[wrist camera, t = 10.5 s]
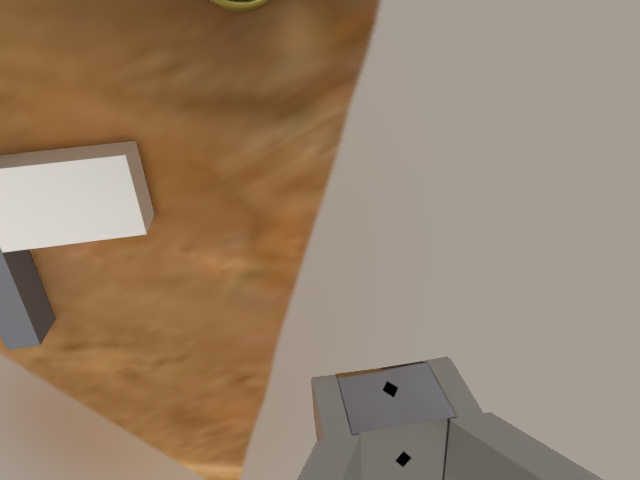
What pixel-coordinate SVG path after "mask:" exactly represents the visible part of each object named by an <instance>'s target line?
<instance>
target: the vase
mask: <svg viewBox="0 0 640 480" xmlns="http://www.w3.org/2000/svg"><path fill="white" fill-rule="evenodd" d="M208 1H209V2H211V3H212V4H214V5H215V6H217V7H219V8H221V9H223V10H226V11H229V12H235V13H243V12H249V11H252V10H255V9H257V8H259V7H261V6H262V5H264V4H265V3H266V2H267V1H268V0H208Z"/></svg>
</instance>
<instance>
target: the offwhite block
mask: <svg viewBox="0 0 640 480" xmlns="http://www.w3.org/2000/svg"><path fill="white" fill-rule="evenodd" d="M153 216H154V211H153V207H152V203H151V199H150V195H149V191H148V187H147V183H146V179H145V175H144V171H143V167H142V163H141V159H140V155H139V151H138V147H137V143H136V141H129V142H120V143H110V144H101V145H92V146H82V147H73V148H63V149H54V150H45V151H35V152H26V153H16V154H7V155H0V248H1V250H2V253H3V252H11V251H19V250H27V249H35V248H43V247H50V246H58V245H66V244H74V243H82V242H90V241H98V240H105V239H113V238H121V237H129V236H137V235H145V234H147V232H148V229H149V227H150V224H151V221H152V219H153Z"/></svg>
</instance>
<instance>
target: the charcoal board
mask: <svg viewBox="0 0 640 480" xmlns="http://www.w3.org/2000/svg"><path fill="white" fill-rule="evenodd" d="M54 320H55V317H54V315H53V312H52V309H51V307H50V304H49V301H48V299H47V296H46V294H45V291H44V288H43V286H42V283H41V281H40V278H39V275H38V273H37V270H36V267H35V265H34V262H33V260H32V257H31V254H30V252H29V249H27V250H19V251H11V252H3V253H2V250H1V248H0V335H1V337H2V340H3V342H4V344H5V346H6V348H7V350H9V349H16V348H24V347H31V346H38V345H41V343H42V342H43V340H44V338H45V336H46V335H47V333H48V331H49V329H50V327H51V326H52V324H53V322H54Z"/></svg>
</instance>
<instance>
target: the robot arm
mask: <svg viewBox="0 0 640 480" xmlns="http://www.w3.org/2000/svg"><path fill="white" fill-rule="evenodd" d="M311 383H312V396H313V408H314V419H315V427H316V436H317V442H316V444H315V446H314V447H313V450H312V452H311V454H310V456H309V458H308V460H307V462H306V464H305V466H304V468H303V470H302V472H301V474H300V476H299V478H298V480H603V479H601V478H600V477H598V476H596V475H595V474H593V473H591V472H590V471H588V470H586V469H584V468H583V467H581V466H579V465H577V464H576V463H574V462H573V461H571V460H569V459H568V458H566V457H564V456H563V455H561V454H559V453H558V452H556V451H554V450H553V449H551V448H549V447H548V446H546V445H544V444H543V443H541V442H539V441H538V440H536V439H534V438H532V437H531V436H529V435H527V434H526V433H524V432H522V431H521V430H519V429H517V428H516V427H514V426H512V425H511V424H509V423H507V422H506V421H504V420H502V419H501V418H499V417H497V416H496V415H494V414H492V413H483V412H482V410H481V408H480V407H479V405H478V403H477V402H476V400H475V398H474V397H473V395H472V393H471V392H470V390H469V389H468V387H467V385H466V384H465V382H464V380H463V379H462V377H461V375H460V374H459V372H458V370H457V369H456V367H455V365H454V364H453V362H452V360H451V359H449V358H448V357H443V358H438V359H431V360H426V361H420V362H414V363H408V364H402V365H396V366H389V367H383V368H378V369H370V370H363V371H355V372H347V373H339V374H336V375H328V376H321V377H312V380H311Z"/></svg>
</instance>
